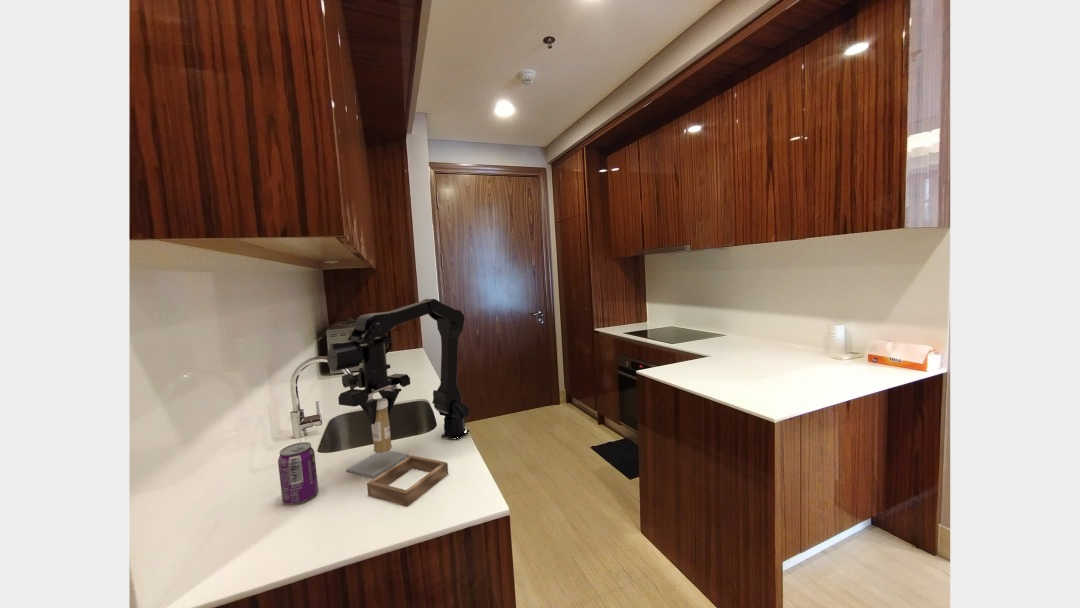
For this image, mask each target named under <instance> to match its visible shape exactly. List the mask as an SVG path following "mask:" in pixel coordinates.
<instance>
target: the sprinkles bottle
mask: <svg viewBox="0 0 1080 608" xmlns="http://www.w3.org/2000/svg"><path fill="white" fill-rule="evenodd" d="M376 399H377V409H376V420H375V424H371V423H370V424H371V426H370V427H371V434H372V440H373V441H372V442H373V452H374V453H383V452H387V451H389V450H390V451H391V450H392V447H393V446H392V439H391V438H392V437H391V428H390V419H389V417H388V400H387V399H386V398H382V397H380V398H376Z"/></svg>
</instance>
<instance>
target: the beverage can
mask: <svg viewBox="0 0 1080 608" xmlns="http://www.w3.org/2000/svg"><path fill="white" fill-rule="evenodd" d="M315 455H316V454H315V450H314V448H313V447H312V443H311V442H308V441H301V442H296V443H293V444H290V445H288V446H285V447H283V448H282V449H280V450H279V457H278V458H277V465H278V475H279V484H280V490H281V491H280V492H281V500H282V501H281V502H283V503H284V504H288V505H289V504H290V505H291V504H292V505H296V504H300V503H303V502H306V501H308V500H309V499H311V498H312V497H313V496H315V495H316V494H317V493H318V491H319V484H318V474H317V465H316V456H315Z"/></svg>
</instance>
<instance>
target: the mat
mask: <svg viewBox="0 0 1080 608" xmlns="http://www.w3.org/2000/svg"><path fill="white" fill-rule="evenodd" d="M409 456H410V455H409V453H404V452H400V451H395V450H391V449H390V450H389V451H387V452H383V453H376V452H374V453H373V454H371V455H369V456H368V457H365V458H364V459H363V460H360V461H359V462H357V463H355V464H353V465H352V466H350V467H348V468H346V472H347V473H351V474H355V475H359V476H364V477H367V478H370V479H375V478H376V477H378V476H379V475H381V474H382V473H384V472H386V471H387V470H389V469H390V468H392V467H393V466H395V465H397V464H398V463H400V462H401V461H403V460H404V459H406V457H407V458H408V457H409Z"/></svg>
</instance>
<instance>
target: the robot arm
mask: <svg viewBox="0 0 1080 608" xmlns="http://www.w3.org/2000/svg"><path fill="white" fill-rule="evenodd" d="M426 315H428V316H429V317H430V318H431V319H432V320H434V321H436V325H437V326H436V327H437V330H438V333H439V335H440V337H441V351H440V352H441V358H440V360H441V361H440V383H439V386H438V387H437V389H435V390H433V392H432V396H433V399H432V402H431V404H433V407H434V409H435V410H436V411H438V413H439V416H443V417H444V418H443V430H444V432H443V433H442V434H441V438H444V437H448V438H447V439H450V438H456V439H458V438H460V437H461V436H462V437H464V436H465V435H466V434H465V433H464V431H465V429H466V430H467V432H468V433H469V432H470V431H471V430H470V429H467V428H466V417H468V416H469V415H470V408H469V407H468V406H467V405H466V404H464V403H463V400H462V393H461V390H460V389H459V387H458V382H457V381H458V380H457V379H458V357H459V356H458V353H459V352H458V351H459V348H458V347H459V337H460V336H461V334H462V332H463V330H464V326H465V319H466V318H465V314H464V313H463V312H462V311H461V310H460V309H455V308H453V307H451V306H449V305H446V304H444V303H442V302H441V301H439V300H438V299H435V298H425V299H423V300H421V301H418V302H414V303H412V304H408V305H406V306H402V307H398V308H396V309H393V310H390V311H383V312H373V313H366V314H365V313H364V314H362V315H359V316H358V317H357V318H356V321H355V325H354V328H353V330H352V331H351V333H350V334H349V336H348V338H347V340H346V341H341V342H330V343H329V349H328V351H327V356H326V360H327V365H328V368H329V369H330V370H331V371H332V372H339V371H342V370H343V371H344V370H347V369H351V368H355V367H359V366H360V364H362V367H361V366H360V367H359V368H358V373H357V374H354V375H353V374H352V373H350V372H349V373H346V374H344V375H342V376H341V384H342V386H343V388H344V389H346V388H349V390H346V391H343V392H340V394H339V395H338V399H337V400H338V405H339V406H346V407H347V406H348V407H353V408H355V407H358V406H360V408H361V409H362V410H363V412H364V413H365V415H366V417H367V419H368V422H369V424H375V420H376V409H377V399H378V398H374V395H373V394H376V393H379V395H380V397H381V398H386V399H387V400H388V418H389V417H390V415H391V412H392V410H393V407H394V405H395V402H396V400H397V398H398V395H399V394H400V392H402V388H405V387H407V386H410V385H411V378H410V376H409V375H408V374H407V373H406V374H405V373H404V374H403V373H393V374H390V375H389V374H388V370H389V369H391V364H390V363H389V364H388V363H387V356H386V354H387V353H386V347H385V345H386V344H390V343H391V344H392V343H393V339H391V338H390V337H389V336H387V333H389V332H390V331H391V330H393V329H394V328H395V327H397V326H399V325H400V324H403V323H407V322H409V321H412V320H416V319H418V318H420V317H423V316H426ZM398 385H400V386H401V387H402V388H398ZM357 388H359V389H357ZM363 388H364V389H363ZM464 427H465V428H464ZM463 435H464V436H463ZM457 437H458V438H457ZM462 437H461V438H462ZM461 438H460V439H461ZM456 439H455V440H456ZM458 440H459V439H458Z"/></svg>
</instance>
